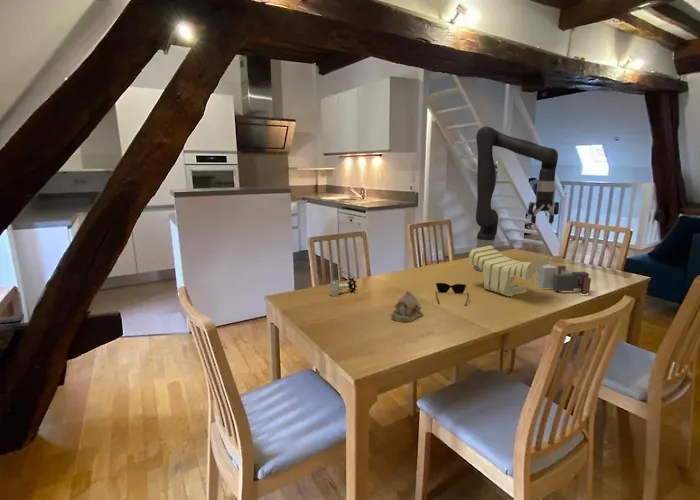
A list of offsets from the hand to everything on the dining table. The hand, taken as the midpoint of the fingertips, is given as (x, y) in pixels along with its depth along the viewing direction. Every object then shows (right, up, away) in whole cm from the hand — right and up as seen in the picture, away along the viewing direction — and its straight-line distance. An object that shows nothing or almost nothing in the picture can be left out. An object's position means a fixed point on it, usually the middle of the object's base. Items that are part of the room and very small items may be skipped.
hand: (542, 223), depth 198 cm
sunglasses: (-51, -35, -23) cm, 67 cm away
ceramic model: (-73, -40, -41) cm, 93 cm away
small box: (-3, -31, -9) cm, 33 cm away
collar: (+5, -32, -16) cm, 36 cm away
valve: (-99, -34, -16) cm, 106 cm away
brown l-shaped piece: (+6, -31, -11) cm, 34 cm away
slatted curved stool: (-24, -33, -14) cm, 43 cm away
